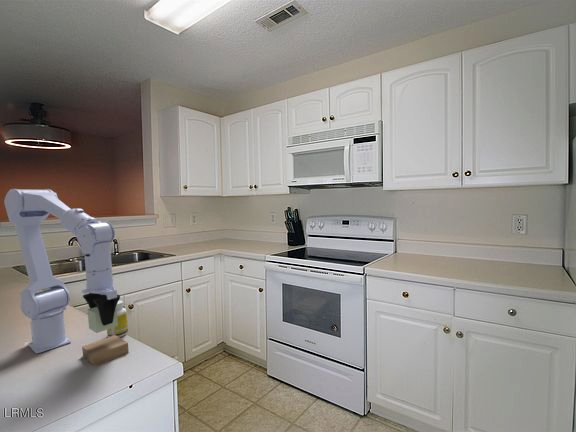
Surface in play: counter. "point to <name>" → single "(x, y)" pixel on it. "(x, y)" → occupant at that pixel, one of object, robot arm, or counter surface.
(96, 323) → the sage cube
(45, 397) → the counter surface
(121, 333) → the supplement bottle
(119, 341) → the walnut block
